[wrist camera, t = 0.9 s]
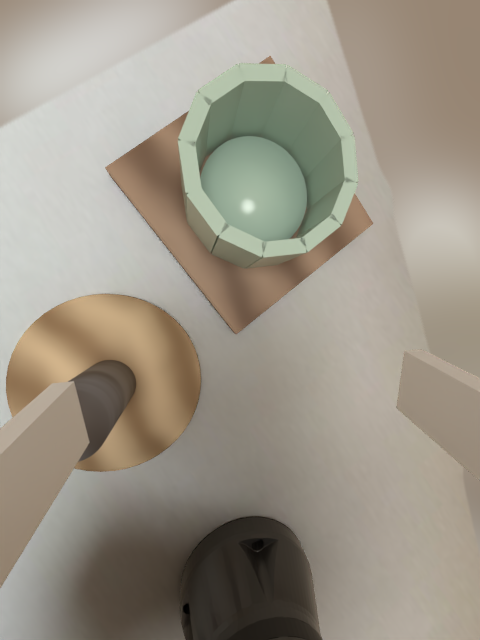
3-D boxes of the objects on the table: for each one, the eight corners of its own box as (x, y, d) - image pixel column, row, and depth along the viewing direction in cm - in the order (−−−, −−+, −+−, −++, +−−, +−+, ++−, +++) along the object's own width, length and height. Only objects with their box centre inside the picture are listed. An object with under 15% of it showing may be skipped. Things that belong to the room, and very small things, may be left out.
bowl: (241, 294, 27) (258, 291, 20) (152, 177, 25) (138, 129, 18) (339, 216, 29) (386, 189, 22) (265, 99, 26) (291, 27, 19)
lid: (101, 498, 28) (50, 609, 18) (-31, 372, 25) (-181, 420, 15) (232, 388, 30) (254, 432, 20) (125, 258, 27) (86, 232, 17)
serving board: (233, 332, 29) (236, 334, 27) (110, 175, 25) (105, 167, 24) (364, 227, 31) (373, 223, 29) (266, 68, 28) (270, 55, 26)
